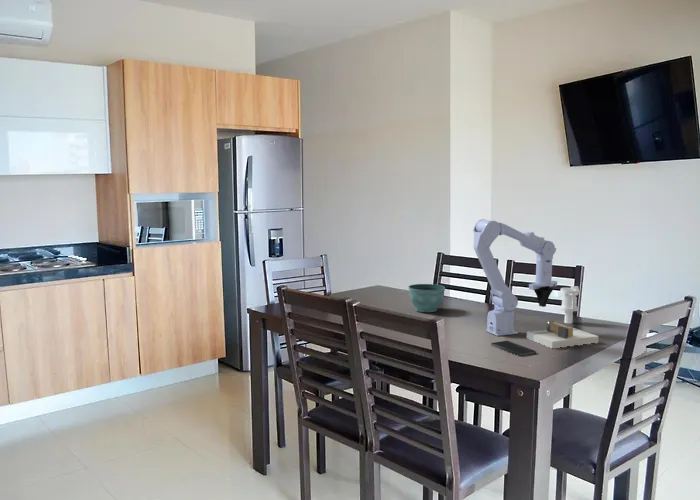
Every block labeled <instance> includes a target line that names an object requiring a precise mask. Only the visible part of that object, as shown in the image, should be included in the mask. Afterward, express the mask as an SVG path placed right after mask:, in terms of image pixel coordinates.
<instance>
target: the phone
mask: <svg viewBox="0 0 700 500" xmlns="http://www.w3.org/2000/svg"><path fill="white" fill-rule="evenodd" d="M490 346H491V347H494V348H497V349H498V348H499V350H501V351H503V350H504V352H506V351H507V352H506V353H509V354H511V353H512V354H511V355H514V354H515V355H514V356H516V355H518V356H517V357H525V356H524V355H527V356H531V354H533V355H536V354H537V351H536V350H534V349H532V348H530V347H529V348H528V347H525V346H523V345H520V344H518V343H515V342H513V341H509V340H503V341H502V340H501V341H496V342H491V345H490Z"/></svg>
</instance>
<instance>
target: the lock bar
mask: <svg viewBox="0 0 700 500" xmlns="http://www.w3.org/2000/svg"><path fill="white" fill-rule="evenodd" d="M559 326H561V327H564V328H567V329H568V335H567V337H572V336H573V328H574V327H572V326H568V325H565V324H562V323H559V322H557V321H554V320H550V319H549V320H545V330H548V331H553V332H556V333H558V327H559ZM571 327H572V328H571Z"/></svg>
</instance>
